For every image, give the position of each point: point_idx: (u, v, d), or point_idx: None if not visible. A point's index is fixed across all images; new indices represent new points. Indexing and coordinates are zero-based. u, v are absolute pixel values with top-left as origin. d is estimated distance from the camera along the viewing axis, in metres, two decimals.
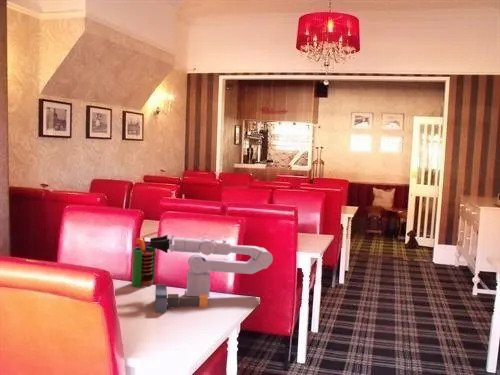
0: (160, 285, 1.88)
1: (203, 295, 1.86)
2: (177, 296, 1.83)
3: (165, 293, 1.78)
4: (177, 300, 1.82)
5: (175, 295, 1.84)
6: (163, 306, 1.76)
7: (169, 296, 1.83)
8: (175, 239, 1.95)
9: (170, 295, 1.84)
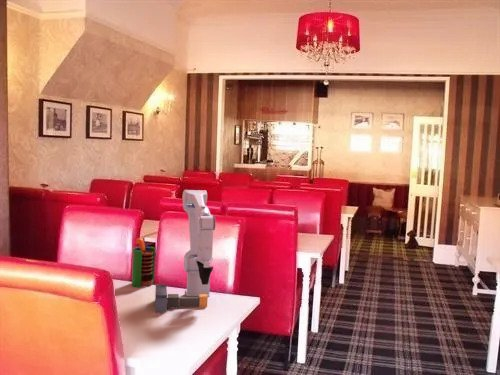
0: (160, 285, 1.88)
1: (203, 295, 1.86)
2: (177, 296, 1.83)
3: (165, 293, 1.78)
4: (177, 300, 1.82)
5: (175, 295, 1.84)
6: (163, 306, 1.76)
7: (169, 296, 1.83)
8: (199, 257, 1.83)
9: (170, 295, 1.84)
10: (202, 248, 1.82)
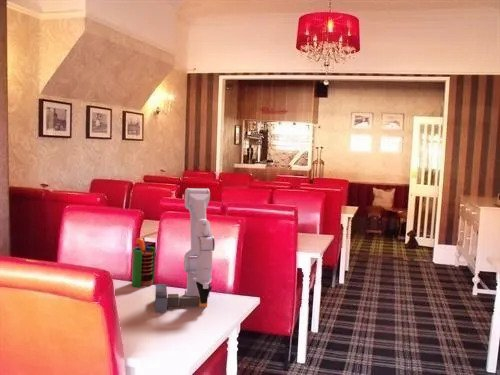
0: (160, 285, 1.88)
1: None
2: (177, 296, 1.83)
3: (165, 293, 1.78)
4: (177, 300, 1.82)
5: (175, 295, 1.84)
6: (163, 306, 1.76)
7: (169, 296, 1.83)
8: (198, 278, 1.83)
9: (170, 295, 1.84)
10: (201, 269, 1.82)
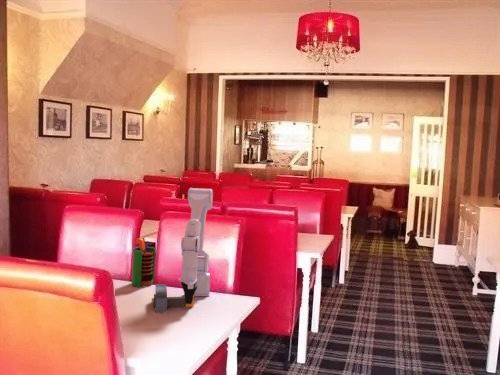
0: (160, 285, 1.88)
1: None
2: None
3: (165, 293, 1.78)
4: None
5: None
6: (163, 306, 1.76)
7: (155, 296, 1.81)
8: (183, 278, 1.82)
9: None
10: (186, 269, 1.81)
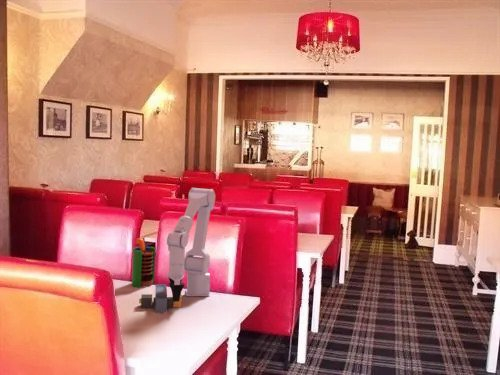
0: (160, 285, 1.88)
1: None
2: (151, 296, 1.81)
3: (165, 293, 1.78)
4: (150, 300, 1.80)
5: (149, 295, 1.82)
6: (163, 306, 1.76)
7: (142, 296, 1.81)
8: (170, 274, 1.81)
9: (144, 295, 1.82)
10: (173, 265, 1.80)
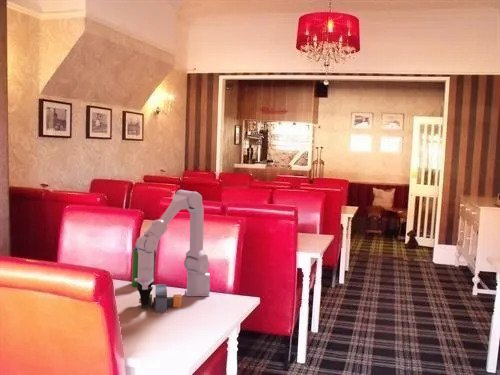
0: (160, 285, 1.88)
1: (177, 295, 1.84)
2: (151, 296, 1.81)
3: (165, 293, 1.78)
4: (150, 300, 1.80)
5: None
6: (163, 306, 1.76)
7: None
8: (139, 278, 1.79)
9: None
10: (142, 269, 1.78)
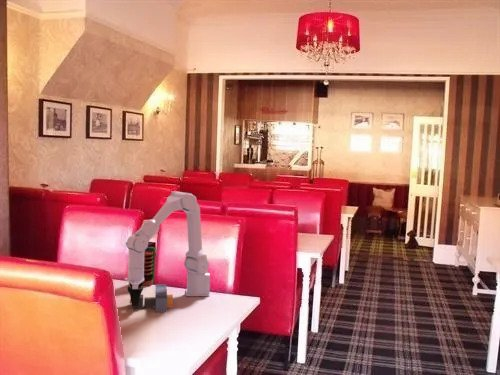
0: (160, 285, 1.88)
1: (168, 296, 1.83)
2: (141, 297, 1.80)
3: (165, 293, 1.78)
4: (141, 301, 1.79)
5: (140, 296, 1.81)
6: (163, 306, 1.76)
7: None
8: (129, 278, 1.78)
9: None
10: (132, 269, 1.77)
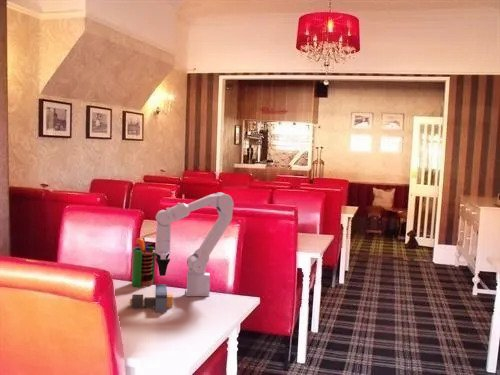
0: (160, 285, 1.88)
1: (168, 296, 1.83)
2: (141, 297, 1.80)
3: (165, 293, 1.78)
4: (141, 301, 1.79)
5: (140, 296, 1.82)
6: (163, 306, 1.76)
7: (133, 297, 1.80)
8: (157, 250, 1.92)
9: (134, 296, 1.81)
10: (160, 241, 1.91)
